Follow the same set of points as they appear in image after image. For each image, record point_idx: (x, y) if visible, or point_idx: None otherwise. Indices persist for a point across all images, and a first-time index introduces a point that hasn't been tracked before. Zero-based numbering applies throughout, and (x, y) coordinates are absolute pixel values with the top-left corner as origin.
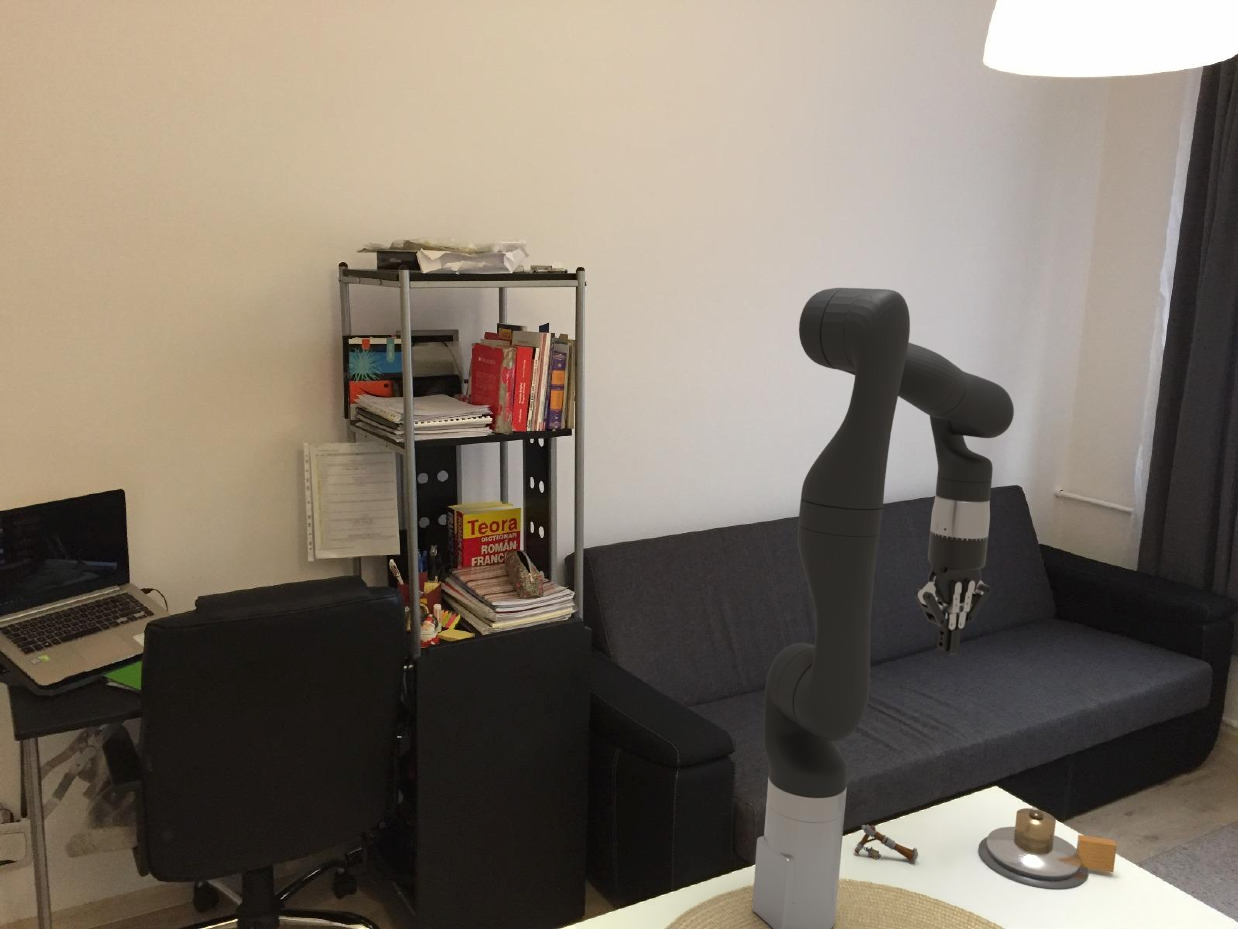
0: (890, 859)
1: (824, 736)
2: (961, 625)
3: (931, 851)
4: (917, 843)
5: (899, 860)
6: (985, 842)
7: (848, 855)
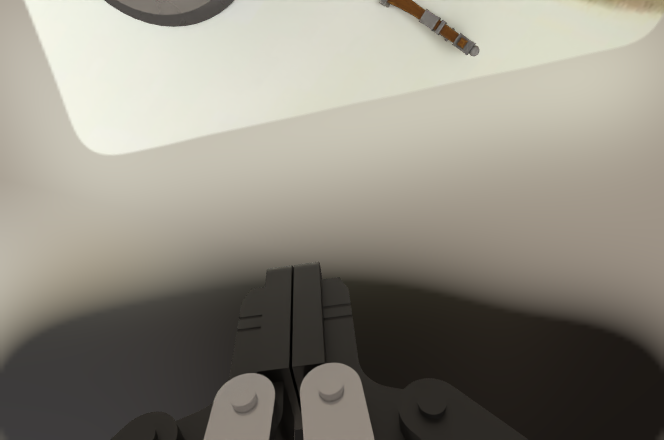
0: None
1: None
2: (249, 389)
3: (331, 15)
4: (337, 48)
5: None
6: (216, 3)
7: None
